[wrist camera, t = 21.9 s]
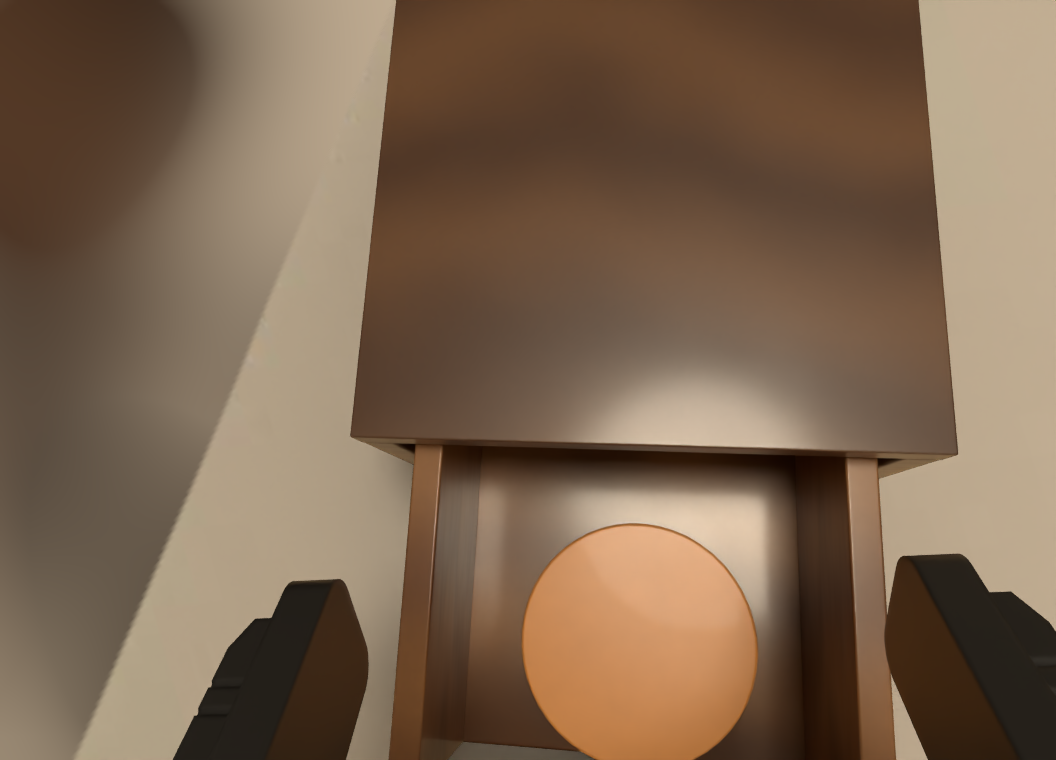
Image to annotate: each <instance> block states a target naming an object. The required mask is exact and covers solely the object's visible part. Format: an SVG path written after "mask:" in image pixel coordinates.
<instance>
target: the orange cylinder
mask: <svg viewBox="0 0 1056 760" xmlns="http://www.w3.org/2000/svg"><path fill="white" fill-rule="evenodd" d="M521 647H522V658H523V664H524V669H525V673H526V678H527V680H528V683H529V686H530V689H531V692H532V694H533V696H534V698H535V700H536V702H537V704H538V706H539V708H540V709H541V711H542V712H543V714H544V715H545V717H546V718H547V720H548V721H549V722H550V724H551V725H552V726H553V727H554V728H555V729H556V731H557V732H558V733H559V734H560V735H561V736H562V737H563V738H565V739H566V740H567V741H568V742H569V743H570V744H571V745H573V746H574V747H576V748H577V749H578V750H580V751H581V752H583V753H584V754H586V755H588V756H590V757H592V758H594V759H596V760H694V759H696V758H698V757H699V756H701V755H703V754H705V753H707V752H708V751H709V750H710V749H712V748H713V747H714V746H716V745H717V744H718V743H719V742H720V741H721V740H722V739H723V738H724V737H725V736H726V735H727V734H728V733H729V732H730V731H731V730H732V728H733V727H734V725H735V724H736V723H737V721H738V720H739V719H740V717H741V715H742V713H743V711H744V709H745V707H746V706H747V704H748V701H749V698H750V695H751V693H752V690H753V687H754V682H755V677H756V673H757V662H758V643H757V634H756V628H755V623H754V619H753V616H752V613H751V610H750V607H749V604H748V602H747V600H746V597H745V595H744V593H743V591H742V589H741V588H740V586H739V584H738V583H737V581H736V579H735V578H734V577H733V575H732V574H731V573H730V571H729V570H728V569H727V568H726V566H725V565H724V564H723V563H722V562H721V561H720V560H719V559H718V558H717V557H716V556H715V555H714V554H713V553H711V552H710V551H709V550H708V549H706V548H705V547H704V546H702V545H701V544H700V543H698V542H696V541H695V540H693V539H691V538H689V537H688V536H686V535H683V534H681V533H679V532H676V531H674V530H671V529H668V528H664V527H661V526H656V525H650V524H638V523H627V524H618V525H612V526H608V527H604V528H600V529H597V530H595V531H592V532H590V533H587V534H585V535H583V536H582V537H580V538H578V539H576V540H575V541H573V542H572V543H570V544H569V545H568V546H566V547H565V548H564V549H562V550H561V551H560V552H559V553H558V554H557V555H556V556H555V557H554V558H553V559H552V560H551V561H550V562H549V564H548V565H547V566H546V568H545V569H544V570H543V571H542V573H541V575H540V576H539V578H538V580H537V581H536V583H535V585H534V587H533V589H532V592H531V594H530V596H529V599H528V602H527V606H526V609H525V613H524V618H523V625H522V638H521Z"/></svg>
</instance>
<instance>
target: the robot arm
mask: <svg viewBox="0 0 1056 760" xmlns="http://www.w3.org/2000/svg"><path fill="white" fill-rule="evenodd" d="M884 643H885V651H886V657H887V661H888V665H889V669H890V672H891V675H892V677H893V680H894V682H895V684H896V687H897V689H898V691H899V694H900V696H901V698H902V701H903V703H904V705H905V707H906V710H907V712H908V714H909V717H910V719H911V721H912V724H913V726H914V728H915V731H916V733H917V735H918V738H919V740H920V742H921V745H922V747H923V749H924V752H925V754H926V756H927V759H928V760H1056V631H1055V630H1054V628H1053V627H1052V625H1051V624H1050V623H1049V622H1048V621H1047V620H1046V619H1045V618H1043V617H1042V616H1041V615H1040V614H1038V613H1037V612H1036V611H1035V610H1033V609H1032V608H1031V607H1030V606H1028V605H1027V604H1026V603H1025V602H1023V601H1022V600H1021V599H1019V598H1018V597H1017V596H1016V595H1014V594H1013V593H1012V592H989V591H988V589H987V588H986V586H985V585H984V583H983V582H982V580H981V578H980V577H979V575H978V574H977V572H976V571H975V569H974V567H973V566H972V564H971V563H970V562H969V560H968V559H967V558H966V557H965V556H963V555H961V554H941V555H918V556H902V557H900V559H899V560H898V562H897V566H896V571H895V576H894V581H893V587H892V592H891V598H890V603H889V608H888V614H887V619H886V624H885V631H884ZM368 666H369V662H368V651H367V646H366V642H365V639H364V636H363V633H362V630H361V627H360V625H359V622H358V619H357V616H356V613H355V610H354V607H353V604H352V601H351V598H350V595H349V592H348V589H347V587H346V584H345V583H344V582H343V581H342V580H341V579H333V580H310V581H292V582H290V583H289V584H288V585H287V586H286V588H285V590H284V591H283V594H282V596H281V598H280V600H279V602H278V605H277V607H276V609H275V611H274V613H273V616H272V618H262V619H255V620H254V621H253V622H252V623H251V624H250V625H249V626H248V627H247V628H246V629H245V630H244V631H243V633H242V634H241V635H240V636H239V637H238V638H237V639H236V640H235V641H234V642H233V643H232V644H231V645H230V646H229V647H228V649H227V651H226V653H225V655H224V657H223V659H222V661H221V663H220V665H219V667H218V669H217V671H216V673H215V675H214V677H213V679H212V686H211V688H208V690H207V692H206V694H205V696H204V698H203V700H202V702H201V704H200V706H199V708H198V715H197V716H194V718H193V720H192V722H191V724H190V726H189V728H188V730H187V732H186V734H185V736H184V738H183V740H182V742H181V744H180V746H179V748H178V750H177V752H176V754H175V756H174V758H173V760H346V757H347V753H348V750H349V746H350V743H351V739H352V736H353V732H354V729H355V725H356V722H357V718H358V714H359V711H360V707H361V704H362V700H363V697H364V693H365V690H366V685H367V679H368Z"/></svg>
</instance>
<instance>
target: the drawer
mask: <svg viewBox="0 0 1056 760" xmlns="http://www.w3.org/2000/svg"><path fill="white" fill-rule="evenodd" d="M627 523H638V524H650V525H656V526H661V527H664V528H668V529H671V530H674V531H676V532H679V533H681V534H683V535H686V536H688V537H689V538H691V539H693V540H695V541H696V542H698V543H700V544H701V545H702V546H704V547H705V548H706V549H708V550H709V551H710V552H711V553H713V554H714V555H715V556H716V557H717V558H718V559H719V560H720V561H721V562H722V563H723V564H724V565H725V566H726V568H727V569H728V570H729V571H730V573H731V574H732V575H733V577H734V578H735V579H736V581H737V583H738V584H739V586H740V588H741V589H742V591H743V593H744V595H745V597H746V600H747V602H748V604H749V607H750V610H751V613H752V616H753V619H754V623H755V628H756V634H757V643H758V662H757V673H756V677H755V682H754V687H753V690H752V693H751V695H750V698H749V701H748V704H747V706H746V707H745V709H744V711H743V713H742V715H741V717H740V719H739V720H738V721H737V723H736V724H735V725H734V727H733V728H732V730H731V731H730V732H729V733H728V734H727V735H726V736H725V737H724V738H723V739H722V740H721V741H720V742H719V743H718V744H717V745H716V746H714V747H713V748H712V749H710V750H709V751H708V752H707V753H705V754H703V755H701V756H699V757H698V758H696V759H694V760H896V751H895V735H894V718H893V702H892V686H891V672H890V669H889V665H888V661H887V657H886V651H885V643H884V631H885V624H886V619H887V606H886V589H885V573H884V557H883V541H882V525H881V509H880V493H879V476H878V460H877V458H864V457H831V456H798V455H765V454H733V453H700V452H667V451H634V450H601V449H568V448H536V447H503V446H470V445H437V444H415V454H414V466H413V478H412V489H411V501H410V513H409V525H408V537H407V549H406V560H405V572H404V584H403V596H402V608H401V619H400V631H399V643H398V655H397V667H396V679H395V690H394V702H393V714H392V726H391V738H390V749H389V760H448V758H449V757H450V756H451V755H452V754H453V753H454V751H455V750H456V749H457V748H458V747H459V746H460V745H461V743H462V742H473V743H484V744H496V745H508V746H520V747H532V748H543V749H555V750H567V751H579V752H581V751H580V750H578V749H577V748H576V747H574V746H573V745H571V744H570V743H569V742H568V741H567V740H566V739H565V738H563V737H562V736H561V735H560V734H559V733H558V732H557V731H556V729H555V728H554V727H553V726H552V725H551V724H550V722H549V721H548V720H547V718H546V717H545V715H544V714H543V712H542V711H541V709H540V708H539V706H538V704H537V702H536V700H535V698H534V696H533V694H532V692H531V689H530V686H529V683H528V680H527V678H526V673H525V669H524V664H523V658H522V647H521V638H522V625H523V618H524V613H525V609H526V606H527V602H528V599H529V596H530V594H531V592H532V589H533V587H534V585H535V583H536V581H537V580H538V578H539V576H540V575H541V573H542V571H543V570H544V569H545V568H546V566H547V565H548V564H549V562H550V561H551V560H552V559H553V558H554V557H555V556H556V555H557V554H558V553H559V552H560V551H561V550H562V549H564V548H565V547H566V546H568V545H569V544H570V543H572V542H573V541H575V540H576V539H578V538H580V537H582V536H583V535H585V534H587V533H590V532H592V531H595V530H597V529H600V528H604V527H608V526H612V525H618V524H627Z"/></svg>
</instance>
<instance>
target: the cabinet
mask: <svg viewBox="0 0 1056 760" xmlns="http://www.w3.org/2000/svg"><path fill="white" fill-rule="evenodd" d="M350 436H351V437H352V438H354V439H356V440H359V441H361V442H365V443H367V444H369V445H371V446H373V447H376V448H378V449H380V450H382V451H384V452H387V453H389V454H391V455H393V456H396V457H398V458H400V459H402V460H404V461H407V462H409V463H411V464H413V465H414V454H415V444H437V445H470V446H503V447H536V448H568V449H601V450H634V451H667V452H700V453H733V454H765V455H798V456H831V457H864V458H877V460H878V476H879V479H880V478H883V477H886V476H889V475H893V474H896V473H899V472H902V471H905V470H909V469H912V468H915V467H918V466H922V465H925V464H928V463H931V462H934V461H938V460H943V459H946V458H949V457H952V456H956V455H958V446H957V435H956V424H955V412H954V401H953V389H952V378H951V367H950V355H949V344H948V332H947V321H946V309H945V298H944V287H943V275H942V264H941V252H940V241H939V230H938V218H937V207H936V195H935V184H934V173H933V161H932V150H931V138H930V127H929V115H928V104H927V93H926V81H925V70H924V58H923V47H922V36H921V24H920V13H919V1H918V0H396V8H395V18H394V27H393V36H392V46H391V55H390V65H389V74H388V84H387V93H386V103H385V112H384V122H383V131H382V141H381V150H380V160H379V169H378V179H377V188H376V198H375V207H374V216H373V226H372V235H371V245H370V254H369V264H368V273H367V283H366V292H365V302H364V311H363V321H362V330H361V340H360V349H359V359H358V368H357V378H356V387H355V396H354V406H353V415H352V425H351V434H350Z"/></svg>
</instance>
